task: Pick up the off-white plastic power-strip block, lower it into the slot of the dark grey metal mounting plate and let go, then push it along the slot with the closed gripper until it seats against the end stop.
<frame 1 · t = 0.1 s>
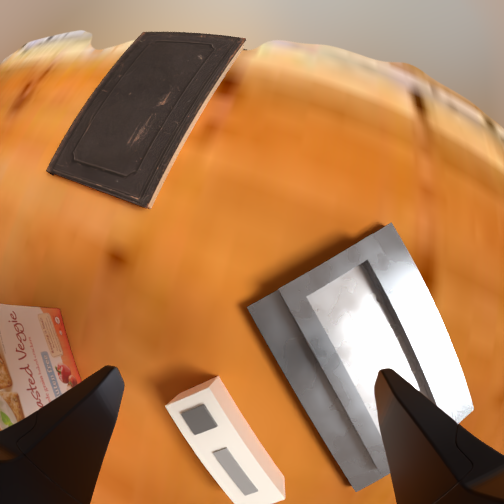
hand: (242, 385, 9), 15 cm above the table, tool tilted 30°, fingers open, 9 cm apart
mount plate: (378, 369, 22), on the table
hardcover book: (146, 106, 29), on the table
power strip: (233, 438, 22), on the table
cracker box: (65, 375, 24), on the table
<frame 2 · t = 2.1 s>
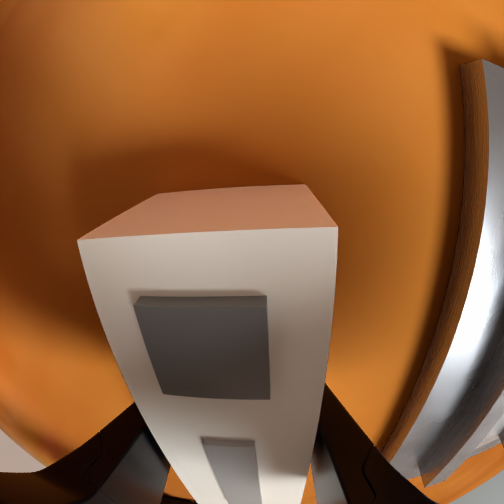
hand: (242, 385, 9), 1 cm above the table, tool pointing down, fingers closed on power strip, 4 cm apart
power strip: (245, 361, 10), on the table, touching gripper
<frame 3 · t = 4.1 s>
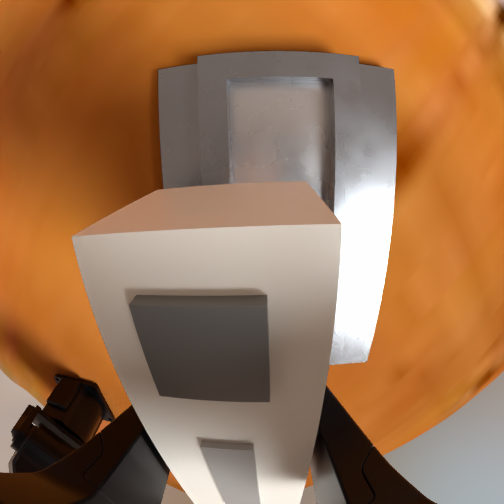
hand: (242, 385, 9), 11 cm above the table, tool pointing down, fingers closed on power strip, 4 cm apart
mount plate: (281, 228, 19), on the table
power strip: (244, 361, 10), point 10 cm above the table, touching gripper
when the fingers open (3 cm above the table, at t = 5.9 s): power strip drops 1 cm, resting on mount plate.
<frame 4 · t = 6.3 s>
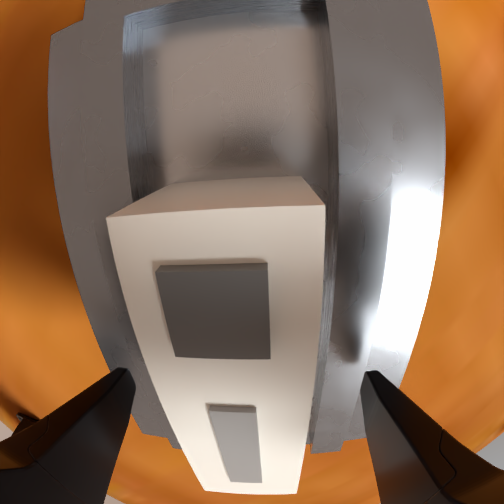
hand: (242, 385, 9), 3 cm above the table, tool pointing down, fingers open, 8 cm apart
mount plate: (246, 269, 11), on the table
power strip: (247, 341, 11), point 1 cm above the table, touching mount plate
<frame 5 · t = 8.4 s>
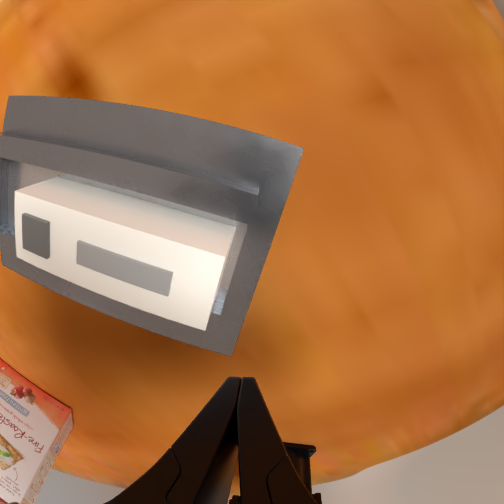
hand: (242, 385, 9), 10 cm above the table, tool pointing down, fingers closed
mount plate: (105, 213, 17), on the table
power strip: (129, 230, 16), point 1 cm above the table, touching mount plate
cracker box: (32, 389, 27), on the table
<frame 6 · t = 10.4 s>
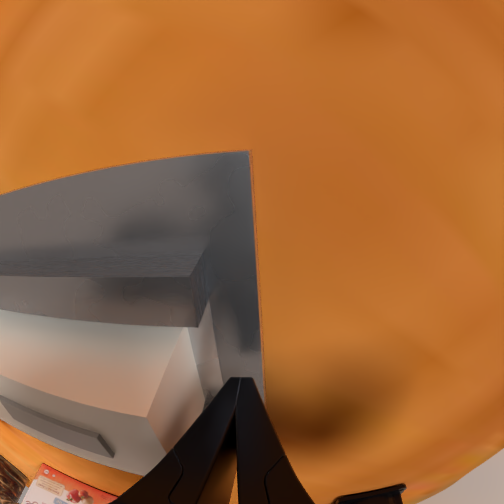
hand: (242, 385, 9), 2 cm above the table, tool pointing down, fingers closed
mount plate: (51, 329, 12), on the table
power strip: (68, 350, 10), point 1 cm above the table, touching gripper, mount plate
jar: (8, 463, 32), on the table
cracker box: (90, 488, 23), on the table
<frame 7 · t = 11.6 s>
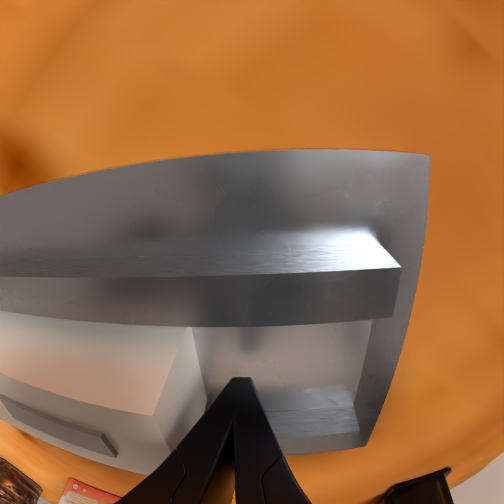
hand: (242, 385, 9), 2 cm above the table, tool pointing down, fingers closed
mount plate: (136, 340, 11), on the table
power strip: (69, 349, 10), point 1 cm above the table, touching gripper, mount plate
jar: (21, 473, 31), on the table
cracker box: (123, 500, 22), on the table
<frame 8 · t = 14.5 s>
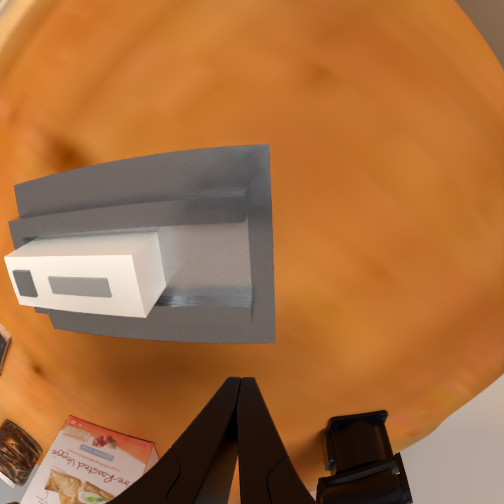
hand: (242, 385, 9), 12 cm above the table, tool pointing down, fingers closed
mount plate: (130, 254, 21), on the table
power strip: (91, 260, 20), point 1 cm above the table, touching mount plate
jar: (23, 435, 41), on the table
cracker box: (113, 436, 32), on the table
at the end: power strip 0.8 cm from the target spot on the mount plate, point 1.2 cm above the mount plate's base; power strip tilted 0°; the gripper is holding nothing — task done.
